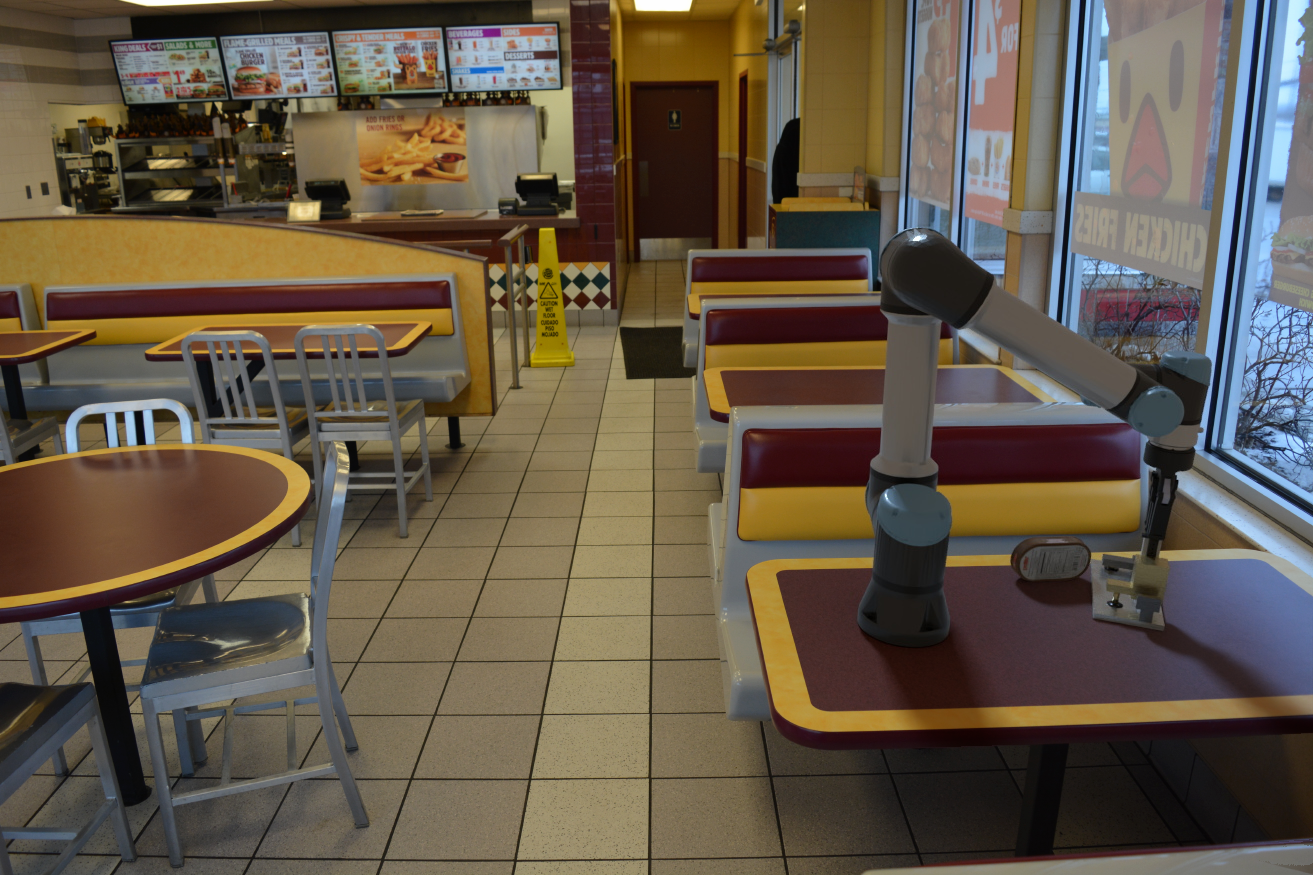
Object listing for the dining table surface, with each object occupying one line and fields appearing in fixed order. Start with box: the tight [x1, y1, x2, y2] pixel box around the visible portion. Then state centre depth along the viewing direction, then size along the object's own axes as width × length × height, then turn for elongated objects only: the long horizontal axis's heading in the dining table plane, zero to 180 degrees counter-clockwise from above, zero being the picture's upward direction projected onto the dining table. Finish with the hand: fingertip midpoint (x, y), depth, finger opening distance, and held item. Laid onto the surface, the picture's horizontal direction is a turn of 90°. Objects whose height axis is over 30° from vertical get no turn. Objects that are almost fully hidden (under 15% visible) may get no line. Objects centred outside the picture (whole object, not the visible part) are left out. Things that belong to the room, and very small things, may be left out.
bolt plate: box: [1090, 558, 1166, 632], centre depth 174 cm, size 11×24×1 cm, turn 158°
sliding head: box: [1106, 553, 1171, 605], centre depth 166 cm, size 9×4×9 cm, turn 68°
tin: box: [1009, 535, 1092, 583], centre depth 179 cm, size 15×3×8 cm, turn 97°
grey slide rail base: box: [1101, 553, 1162, 624], centre depth 173 cm, size 8×24×5 cm, turn 158°
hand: (1146, 570), depth 168 cm, fingers closed
